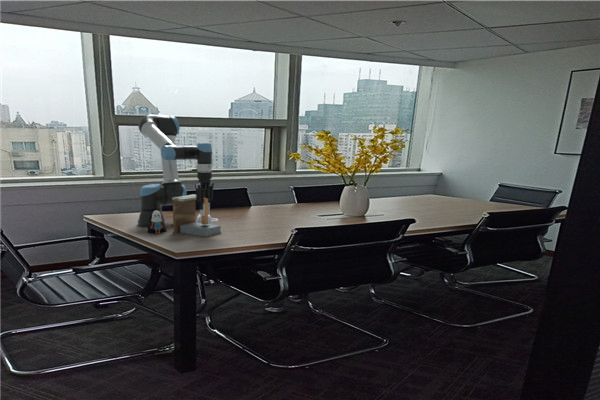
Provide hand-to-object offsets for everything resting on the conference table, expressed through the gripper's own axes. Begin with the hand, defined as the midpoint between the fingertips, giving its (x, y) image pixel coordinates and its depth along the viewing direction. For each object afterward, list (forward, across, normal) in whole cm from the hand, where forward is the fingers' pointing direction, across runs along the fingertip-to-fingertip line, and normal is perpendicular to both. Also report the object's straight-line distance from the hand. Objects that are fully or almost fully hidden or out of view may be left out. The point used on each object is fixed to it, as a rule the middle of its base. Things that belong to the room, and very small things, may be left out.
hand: (204, 214), depth 239 cm
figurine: (+10, -12, +23) cm, 28 cm away
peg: (+5, 0, 0) cm, 5 cm away
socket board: (+10, 0, +3) cm, 11 cm away
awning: (+10, 0, +11) cm, 15 cm away
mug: (+11, +14, +9) cm, 20 cm away
